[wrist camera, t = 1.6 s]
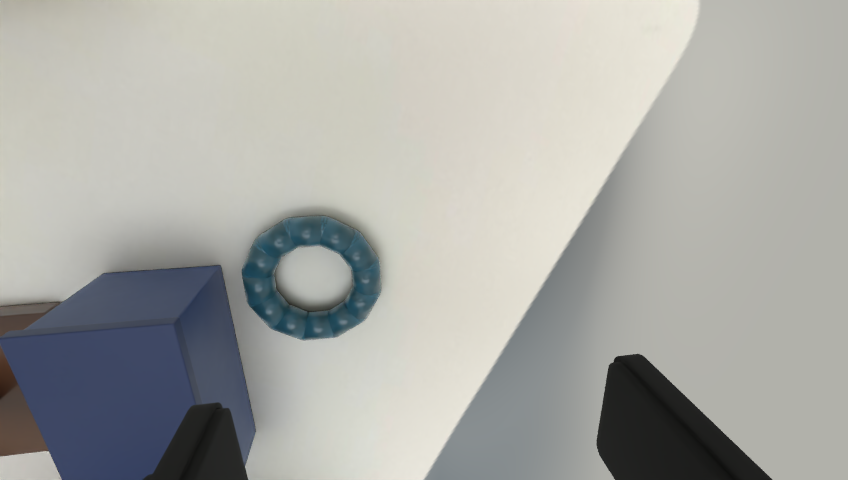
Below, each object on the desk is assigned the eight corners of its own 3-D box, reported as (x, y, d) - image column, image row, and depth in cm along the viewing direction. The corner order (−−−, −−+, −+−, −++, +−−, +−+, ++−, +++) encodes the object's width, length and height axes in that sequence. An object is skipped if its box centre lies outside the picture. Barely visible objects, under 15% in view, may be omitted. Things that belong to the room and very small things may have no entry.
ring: (236, 216, 22) (227, 226, 20) (376, 209, 22) (377, 217, 21) (259, 334, 24) (252, 350, 23) (383, 323, 25) (384, 338, 24)
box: (97, 269, 21) (-5, 339, 16) (224, 261, 22) (173, 323, 16) (156, 445, 26) (94, 552, 20) (259, 433, 27) (230, 531, 21)
